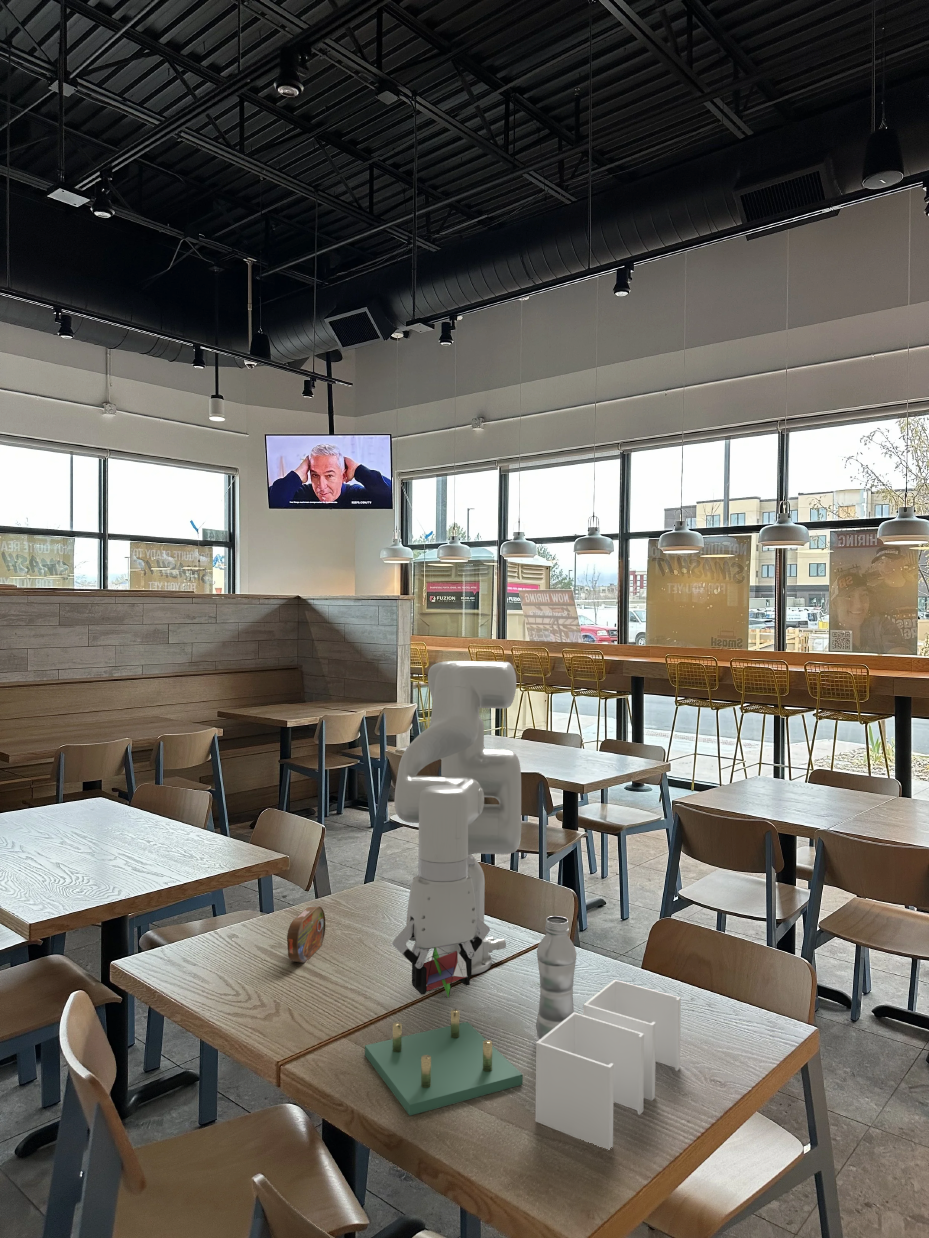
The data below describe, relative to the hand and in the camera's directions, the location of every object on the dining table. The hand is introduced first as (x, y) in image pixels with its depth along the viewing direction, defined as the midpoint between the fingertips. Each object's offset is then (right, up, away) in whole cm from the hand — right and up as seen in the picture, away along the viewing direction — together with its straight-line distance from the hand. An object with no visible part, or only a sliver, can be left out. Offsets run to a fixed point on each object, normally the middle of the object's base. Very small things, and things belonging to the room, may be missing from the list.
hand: (441, 985), depth 128 cm
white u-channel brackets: (+25, -13, -6) cm, 29 cm away
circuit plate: (0, -13, 0) cm, 13 cm away
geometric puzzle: (0, -1, 0) cm, 1 cm away
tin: (-29, -13, +44) cm, 54 cm away
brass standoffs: (0, -11, 0) cm, 11 cm away
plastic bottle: (+18, -13, +8) cm, 24 cm away
